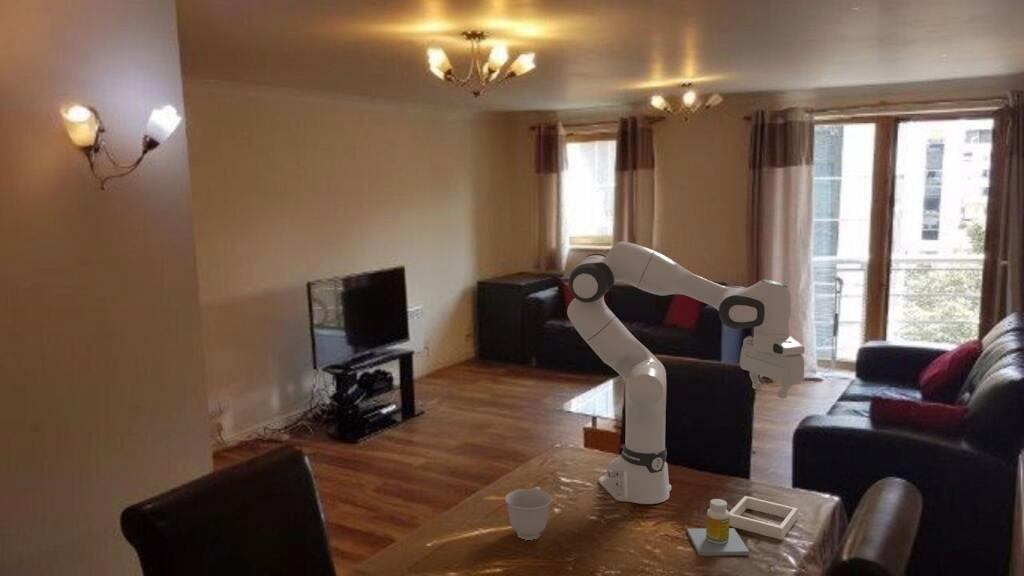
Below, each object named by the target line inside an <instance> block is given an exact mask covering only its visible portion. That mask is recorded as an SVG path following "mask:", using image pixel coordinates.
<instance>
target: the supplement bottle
mask: <svg viewBox="0 0 1024 576" xmlns="http://www.w3.org/2000/svg"><path fill="white" fill-rule="evenodd" d="M709 502H710V503H709V508H708V509H707V511H706V527H705V528H706V538H707V540H708V541H710V542H712V543H716V544H724V543H727V542H728V540H729V528H730V526H729V520H730V514H729V512H730V511H729V510H728V502H727V501H726V500H725V499H720V498H713V499H711V500H710V501H709Z"/></svg>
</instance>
